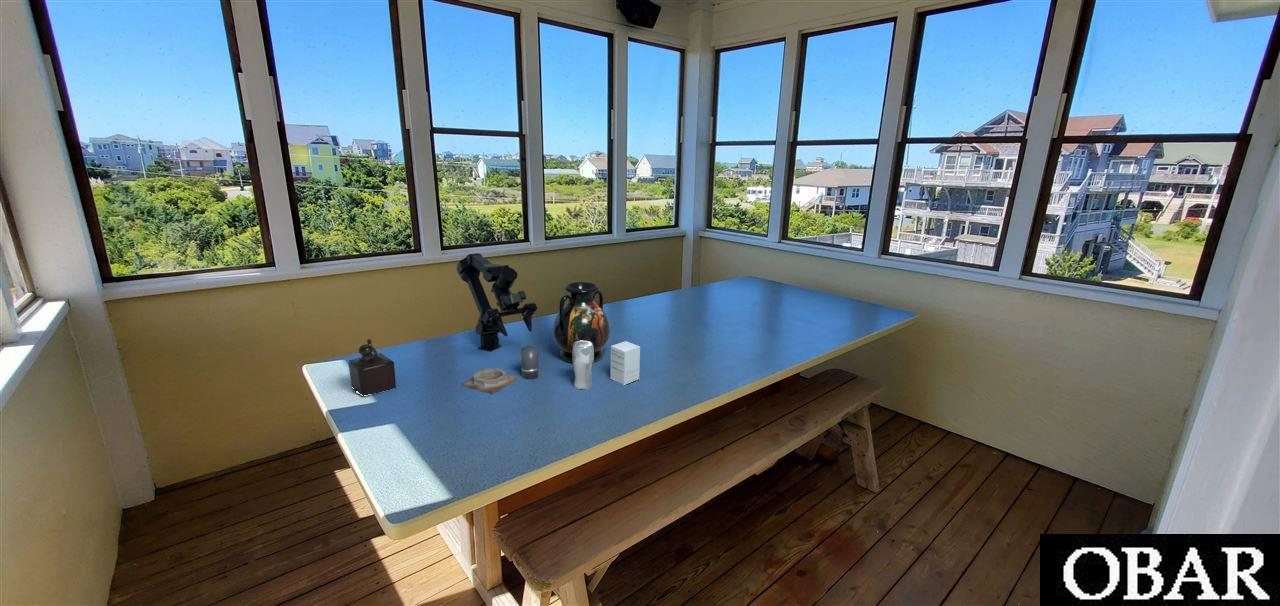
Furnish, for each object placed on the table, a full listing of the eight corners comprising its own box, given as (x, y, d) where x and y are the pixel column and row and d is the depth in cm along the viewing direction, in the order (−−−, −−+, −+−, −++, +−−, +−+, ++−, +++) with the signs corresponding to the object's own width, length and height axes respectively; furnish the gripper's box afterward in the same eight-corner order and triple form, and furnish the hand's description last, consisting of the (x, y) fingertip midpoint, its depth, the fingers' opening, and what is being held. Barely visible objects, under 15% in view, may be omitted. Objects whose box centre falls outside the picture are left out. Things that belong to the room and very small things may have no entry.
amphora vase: (574, 372, 181) (573, 296, 173) (542, 354, 196) (540, 283, 189) (621, 359, 195) (623, 287, 187) (588, 343, 210) (588, 276, 203)
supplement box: (625, 374, 181) (626, 340, 178) (639, 380, 176) (641, 346, 173) (609, 379, 176) (610, 345, 173) (624, 386, 171) (625, 351, 168)
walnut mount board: (462, 385, 168) (462, 377, 167) (488, 372, 179) (488, 364, 178) (492, 394, 163) (492, 385, 162) (517, 379, 174) (517, 371, 173)
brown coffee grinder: (348, 388, 163) (341, 334, 158) (384, 378, 171) (378, 327, 166) (367, 404, 153) (360, 348, 148) (404, 393, 161) (398, 339, 156)
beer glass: (589, 391, 167) (590, 348, 163) (569, 389, 168) (569, 346, 164) (596, 382, 173) (596, 341, 169) (576, 380, 175) (576, 339, 171)
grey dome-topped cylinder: (518, 377, 176) (517, 350, 173) (528, 371, 181) (527, 344, 178) (532, 380, 173) (531, 353, 171) (541, 374, 178) (541, 347, 176)
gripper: (484, 287, 172) (500, 327, 167) (534, 280, 184) (550, 317, 179) (476, 304, 180) (491, 342, 175) (524, 296, 192) (539, 332, 187)
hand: (518, 333), depth 179 cm, fingers open, 9 cm apart
